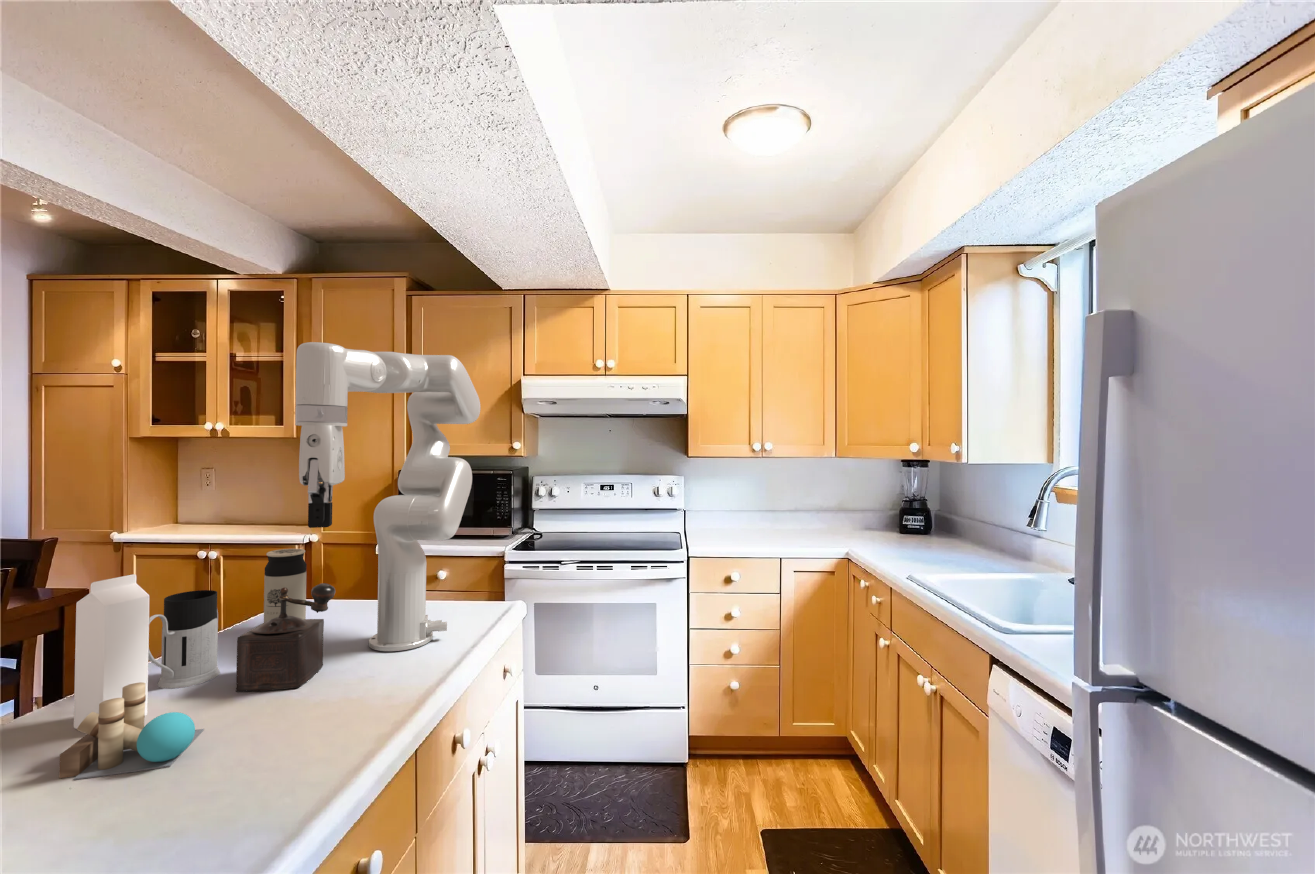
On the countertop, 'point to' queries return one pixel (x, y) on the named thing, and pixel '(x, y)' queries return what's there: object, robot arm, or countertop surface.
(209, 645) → the glass holder
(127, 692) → the rear pin
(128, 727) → the front pin
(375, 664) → the countertop surface
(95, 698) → the milk
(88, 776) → the pin deck mark
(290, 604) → the travel mug
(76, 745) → the back wall
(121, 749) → the rear pin
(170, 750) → the ball
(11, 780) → the countertop surface
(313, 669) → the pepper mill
